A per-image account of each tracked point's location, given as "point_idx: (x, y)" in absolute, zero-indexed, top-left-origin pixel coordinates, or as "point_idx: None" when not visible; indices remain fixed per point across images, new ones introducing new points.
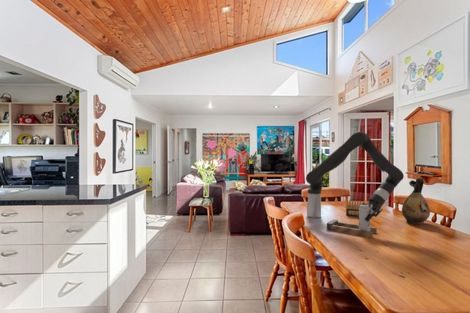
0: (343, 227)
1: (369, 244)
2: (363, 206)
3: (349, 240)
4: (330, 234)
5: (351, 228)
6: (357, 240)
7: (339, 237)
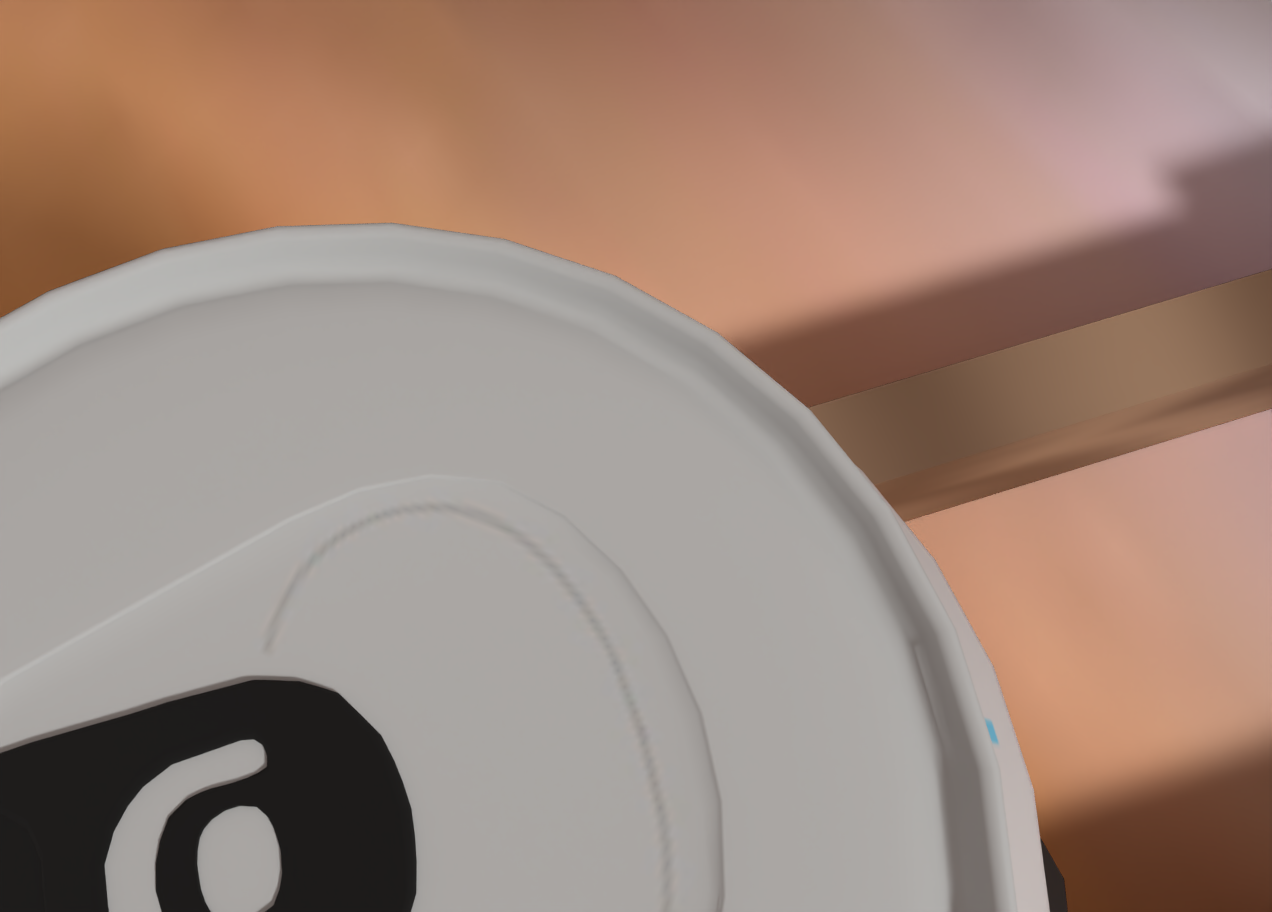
0: (1065, 331)
1: (89, 126)
2: (182, 268)
3: (510, 18)
4: (1058, 24)
5: (841, 439)
6: (395, 148)
7: (776, 13)
